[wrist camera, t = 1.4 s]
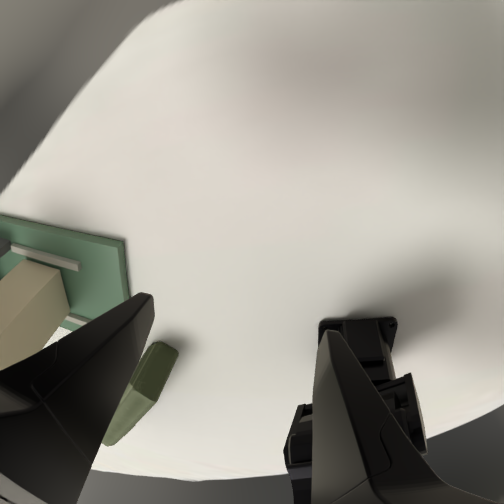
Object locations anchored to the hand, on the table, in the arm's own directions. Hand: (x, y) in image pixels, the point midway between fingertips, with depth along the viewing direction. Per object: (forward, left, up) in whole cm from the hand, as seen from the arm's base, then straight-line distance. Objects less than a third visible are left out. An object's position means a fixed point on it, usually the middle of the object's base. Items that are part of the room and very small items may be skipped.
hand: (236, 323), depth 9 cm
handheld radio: (-24, +19, -12) cm, 33 cm away
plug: (-6, +22, -11) cm, 25 cm away
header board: (-6, +23, -12) cm, 27 cm away
